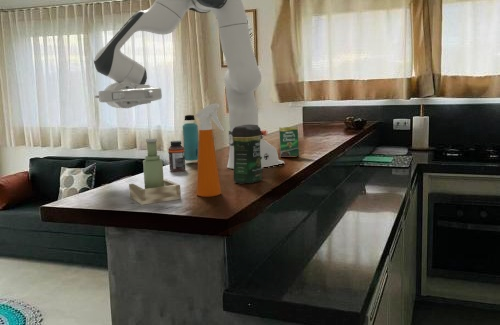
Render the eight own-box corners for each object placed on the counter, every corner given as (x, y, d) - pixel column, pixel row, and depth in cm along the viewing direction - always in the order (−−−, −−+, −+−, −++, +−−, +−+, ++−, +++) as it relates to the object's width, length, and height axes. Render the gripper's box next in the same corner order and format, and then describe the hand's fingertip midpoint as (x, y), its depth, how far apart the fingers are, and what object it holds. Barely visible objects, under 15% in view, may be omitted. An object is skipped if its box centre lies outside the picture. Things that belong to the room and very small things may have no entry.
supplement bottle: (169, 170, 190) (167, 140, 188) (184, 168, 191) (183, 139, 190) (170, 172, 184) (168, 142, 183) (186, 171, 185) (184, 141, 184)
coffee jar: (251, 185, 155) (248, 126, 152) (230, 183, 159) (227, 125, 156) (266, 179, 163) (264, 123, 160) (246, 178, 167) (243, 123, 164)
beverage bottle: (197, 164, 202) (194, 115, 199) (182, 164, 203) (179, 115, 200) (202, 161, 208) (199, 114, 205) (187, 161, 209) (184, 114, 206)
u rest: (167, 192, 149) (166, 179, 148) (180, 198, 139) (180, 184, 139) (130, 197, 143) (128, 184, 143) (141, 204, 134) (140, 190, 133)
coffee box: (280, 158, 209) (279, 127, 207) (280, 157, 212) (279, 126, 210) (299, 157, 208) (298, 126, 206) (298, 156, 211) (298, 126, 209)
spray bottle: (218, 199, 136) (213, 103, 132) (191, 195, 143) (186, 104, 139) (235, 194, 142) (231, 102, 138) (209, 190, 149) (204, 102, 145)
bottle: (160, 192, 145) (157, 137, 142) (167, 194, 140) (163, 138, 138) (142, 194, 142) (138, 139, 140) (149, 197, 137) (145, 140, 135)
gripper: (92, 87, 162) (102, 86, 150) (152, 84, 172) (166, 83, 160) (94, 106, 163) (104, 107, 151) (154, 102, 173) (168, 102, 161)
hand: (137, 94), depth 155 cm, fingers open, 8 cm apart
